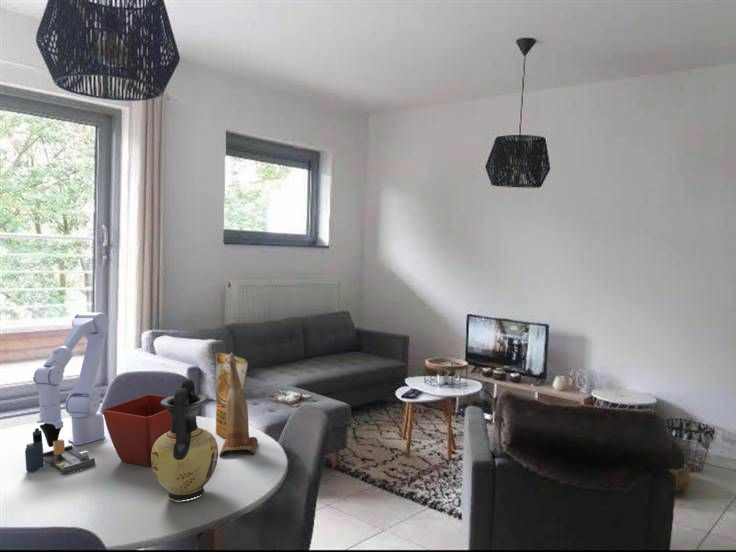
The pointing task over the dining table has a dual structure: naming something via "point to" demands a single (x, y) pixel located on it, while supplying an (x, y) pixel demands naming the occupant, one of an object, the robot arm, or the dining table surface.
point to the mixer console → (69, 460)
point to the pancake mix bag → (226, 387)
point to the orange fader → (59, 447)
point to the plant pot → (137, 427)
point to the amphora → (184, 447)
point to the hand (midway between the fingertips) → (52, 445)
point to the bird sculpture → (237, 415)
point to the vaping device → (35, 452)
